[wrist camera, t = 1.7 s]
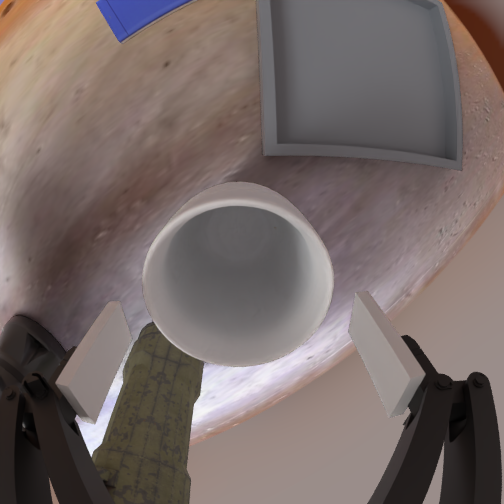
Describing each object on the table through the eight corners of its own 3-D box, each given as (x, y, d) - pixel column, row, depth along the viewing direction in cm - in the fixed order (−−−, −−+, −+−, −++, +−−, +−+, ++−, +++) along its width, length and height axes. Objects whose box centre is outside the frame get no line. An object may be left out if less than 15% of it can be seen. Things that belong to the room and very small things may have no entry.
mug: (252, 318, 31) (260, 411, 19) (160, 286, 29) (122, 372, 17) (311, 198, 26) (370, 245, 14) (205, 154, 24) (172, 163, 12)
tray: (262, 154, 24) (265, 155, 21) (254, -30, 16) (255, -44, 13) (445, 167, 25) (461, 170, 22) (429, 9, 17) (441, 2, 14)
